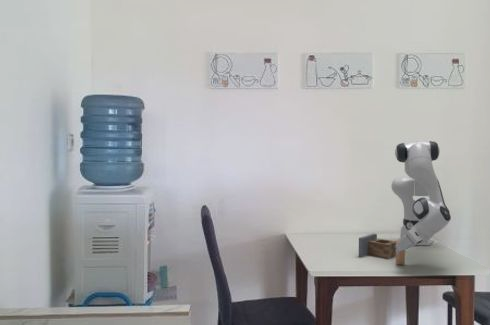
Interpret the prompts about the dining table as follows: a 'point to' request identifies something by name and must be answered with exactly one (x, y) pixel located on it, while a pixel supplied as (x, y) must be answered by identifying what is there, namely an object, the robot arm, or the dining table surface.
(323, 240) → the dining table surface
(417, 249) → the dining table surface
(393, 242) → the socket block
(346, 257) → the dining table surface
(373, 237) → the wall
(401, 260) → the dowel
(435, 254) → the dining table surface
